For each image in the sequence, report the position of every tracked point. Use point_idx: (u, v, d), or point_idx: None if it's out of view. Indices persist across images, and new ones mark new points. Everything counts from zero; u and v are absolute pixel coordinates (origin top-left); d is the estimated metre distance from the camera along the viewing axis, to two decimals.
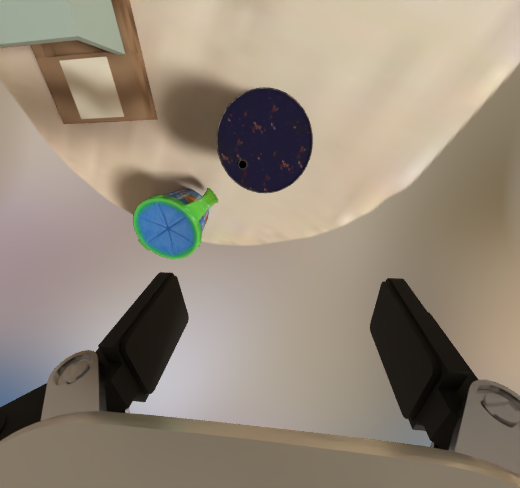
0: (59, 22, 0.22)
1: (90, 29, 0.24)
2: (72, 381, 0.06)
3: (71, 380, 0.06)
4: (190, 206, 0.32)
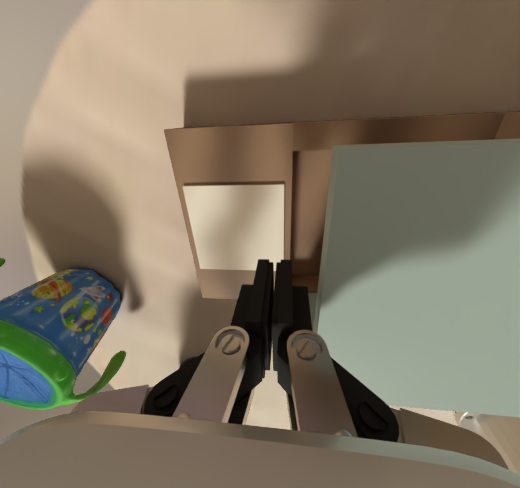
0: None
1: None
2: (224, 351, 0.07)
3: (224, 350, 0.07)
4: (71, 401, 0.20)
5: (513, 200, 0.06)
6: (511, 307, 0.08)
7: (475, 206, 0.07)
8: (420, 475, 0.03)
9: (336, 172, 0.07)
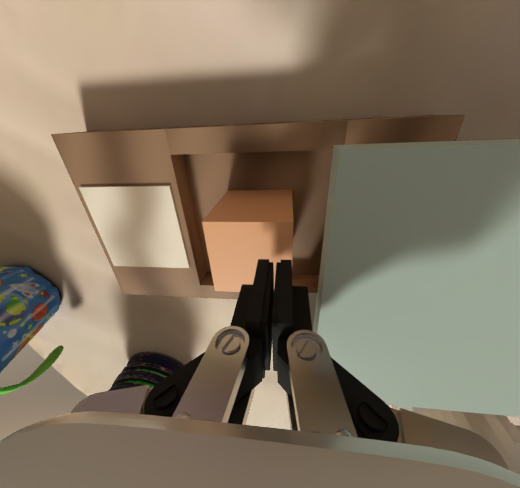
0: None
1: None
2: (225, 351, 0.07)
3: (224, 350, 0.07)
4: None
5: (513, 200, 0.06)
6: (511, 307, 0.08)
7: (476, 206, 0.07)
8: (420, 475, 0.03)
9: (336, 172, 0.07)
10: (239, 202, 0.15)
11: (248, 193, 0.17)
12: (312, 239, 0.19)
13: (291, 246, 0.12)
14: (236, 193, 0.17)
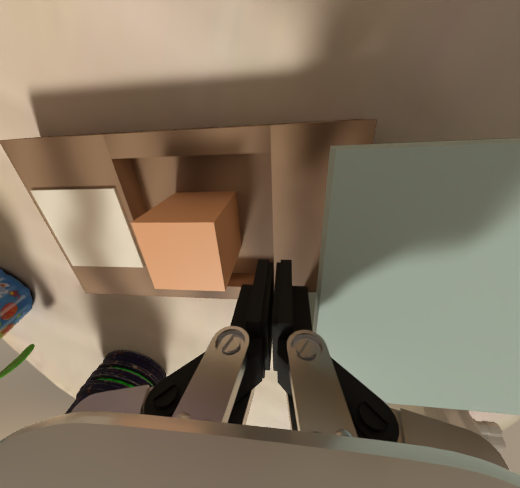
0: None
1: None
2: (225, 351, 0.07)
3: (224, 350, 0.07)
4: None
5: (507, 199, 0.06)
6: (508, 305, 0.08)
7: (470, 205, 0.07)
8: (420, 475, 0.03)
9: (333, 172, 0.07)
10: (178, 204, 0.15)
11: (193, 194, 0.17)
12: (261, 239, 0.19)
13: (216, 245, 0.13)
14: (182, 195, 0.17)
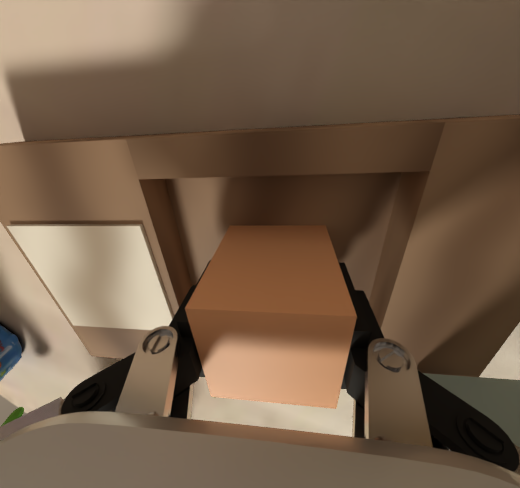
0: None
1: None
2: (154, 352, 0.07)
3: (154, 350, 0.07)
4: None
5: None
6: None
7: None
8: (420, 475, 0.03)
9: None
10: (249, 254, 0.09)
11: (261, 231, 0.11)
12: None
13: (347, 350, 0.07)
14: (243, 231, 0.11)
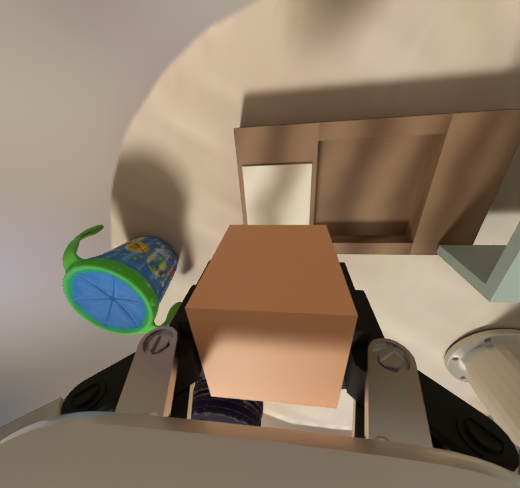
0: (514, 287, 0.17)
1: None
2: (154, 352, 0.07)
3: (154, 350, 0.07)
4: (153, 328, 0.27)
5: None
6: None
7: None
8: (420, 475, 0.03)
9: None
10: (249, 253, 0.09)
11: (261, 230, 0.11)
12: (402, 205, 0.25)
13: (347, 350, 0.07)
14: (244, 231, 0.11)
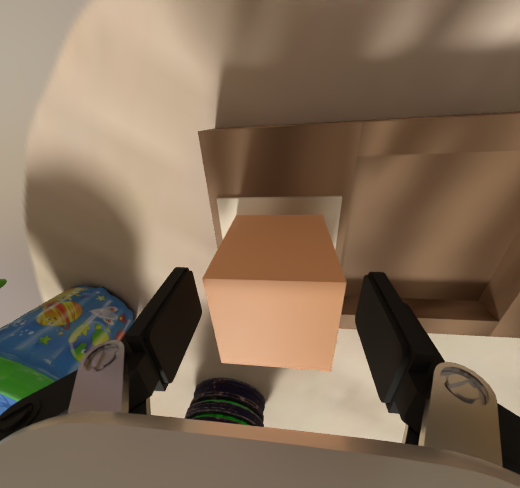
0: None
1: None
2: (100, 368, 0.07)
3: (99, 367, 0.07)
4: None
5: None
6: None
7: None
8: (420, 475, 0.03)
9: None
10: (254, 237, 0.11)
11: (264, 219, 0.12)
12: (482, 259, 0.15)
13: (339, 314, 0.08)
14: (249, 220, 0.12)
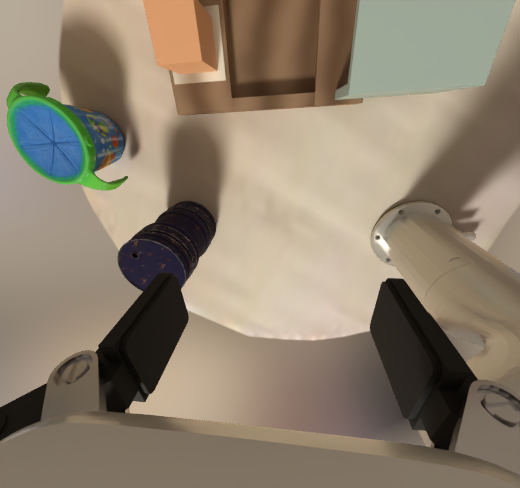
0: (363, 74, 0.21)
1: (354, 95, 0.24)
2: (72, 381, 0.06)
3: (71, 380, 0.06)
4: (92, 177, 0.31)
5: None
6: None
7: None
8: (420, 475, 0.03)
9: None
10: None
11: None
12: (306, 59, 0.29)
13: (194, 14, 0.22)
14: None
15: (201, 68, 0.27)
